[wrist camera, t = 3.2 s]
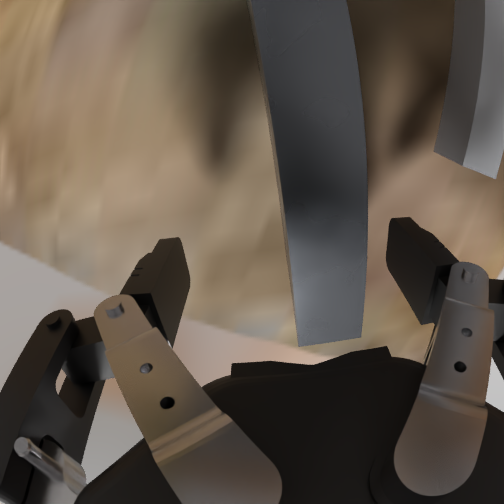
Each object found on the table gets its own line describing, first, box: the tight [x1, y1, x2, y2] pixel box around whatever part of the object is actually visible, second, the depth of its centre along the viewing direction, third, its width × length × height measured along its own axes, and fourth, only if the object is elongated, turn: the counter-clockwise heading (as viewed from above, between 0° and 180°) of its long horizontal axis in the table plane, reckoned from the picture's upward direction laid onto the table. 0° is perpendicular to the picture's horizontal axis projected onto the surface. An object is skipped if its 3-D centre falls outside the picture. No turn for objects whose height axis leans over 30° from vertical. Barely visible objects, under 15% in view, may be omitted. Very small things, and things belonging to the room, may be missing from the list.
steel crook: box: [247, 0, 368, 347], centre depth 9 cm, size 9×20×6 cm, turn 9°
